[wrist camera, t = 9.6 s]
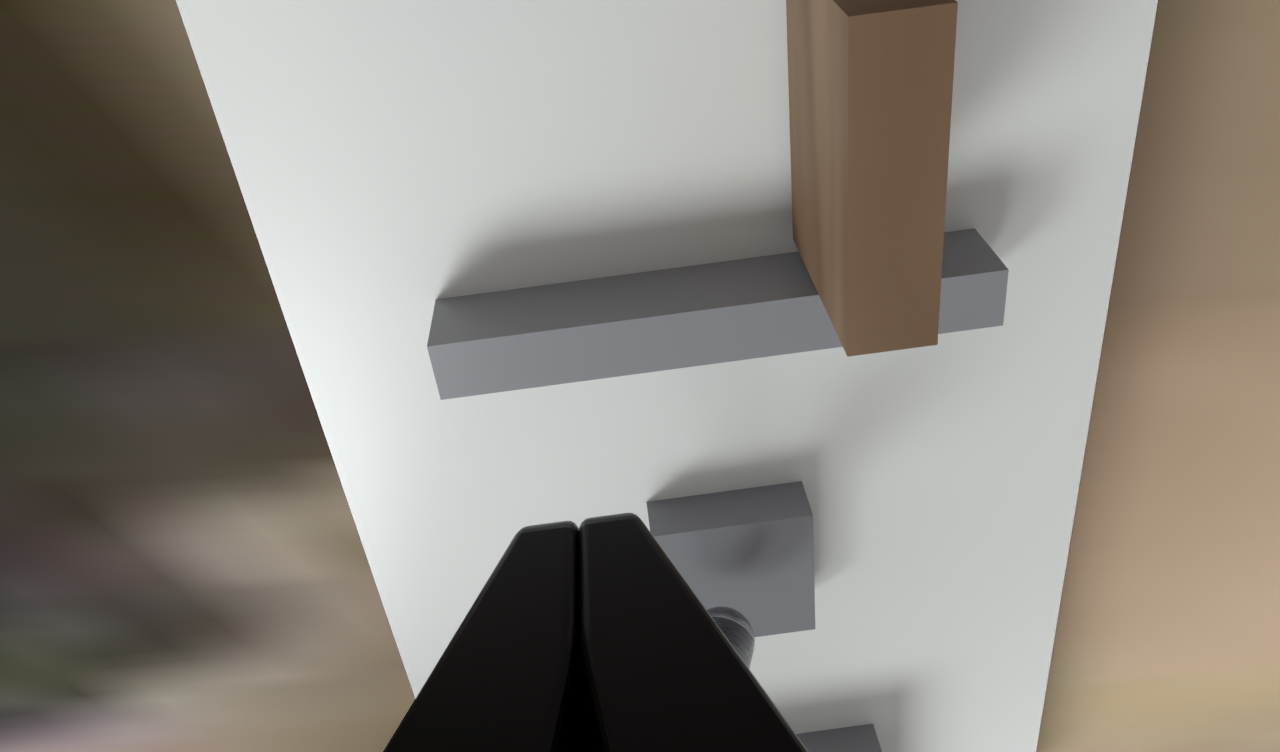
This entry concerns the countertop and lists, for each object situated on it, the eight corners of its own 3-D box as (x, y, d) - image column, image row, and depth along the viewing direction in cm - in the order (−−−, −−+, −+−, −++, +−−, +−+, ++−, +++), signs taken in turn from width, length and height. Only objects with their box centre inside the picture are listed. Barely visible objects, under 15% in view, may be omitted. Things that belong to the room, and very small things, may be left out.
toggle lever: (685, 642, 20) (615, 870, 16) (677, 575, 19) (600, 800, 15) (778, 655, 19) (727, 893, 16) (774, 586, 18) (720, 822, 15)
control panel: (494, 851, 29) (488, 1001, 26) (181, -137, 15) (77, -91, 12) (992, 784, 29) (1050, 925, 26) (1127, -259, 15) (1291, -249, 12)
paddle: (792, 238, 17) (847, 356, 14) (784, -50, 14) (848, 16, 11) (866, 229, 17) (937, 344, 14) (870, -62, 14) (958, 2, 11)
